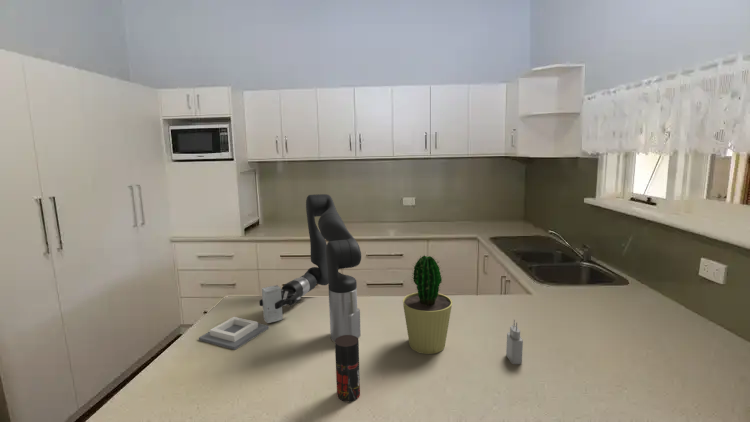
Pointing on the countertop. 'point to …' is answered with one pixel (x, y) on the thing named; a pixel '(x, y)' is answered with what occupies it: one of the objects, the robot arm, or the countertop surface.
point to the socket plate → (233, 333)
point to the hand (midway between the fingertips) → (268, 304)
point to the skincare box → (271, 303)
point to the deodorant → (347, 368)
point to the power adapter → (514, 345)
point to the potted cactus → (427, 309)
